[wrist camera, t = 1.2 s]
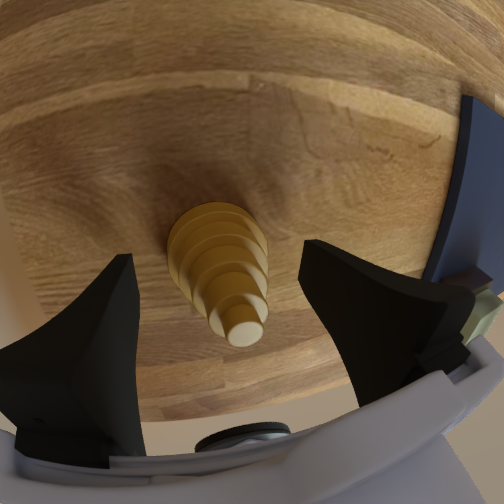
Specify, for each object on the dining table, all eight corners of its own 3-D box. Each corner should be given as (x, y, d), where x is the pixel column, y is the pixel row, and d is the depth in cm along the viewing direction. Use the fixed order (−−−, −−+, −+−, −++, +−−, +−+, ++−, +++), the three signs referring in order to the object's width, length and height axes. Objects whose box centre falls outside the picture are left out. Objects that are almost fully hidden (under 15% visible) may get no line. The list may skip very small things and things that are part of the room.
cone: (215, 299, 14) (241, 389, 10) (147, 252, 12) (142, 346, 7) (278, 242, 14) (334, 318, 9) (215, 180, 11) (252, 242, 7)
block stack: (411, 339, 22) (441, 375, 18) (440, 278, 18) (481, 314, 14) (450, 319, 24) (478, 348, 19) (476, 265, 20) (510, 293, 16)
